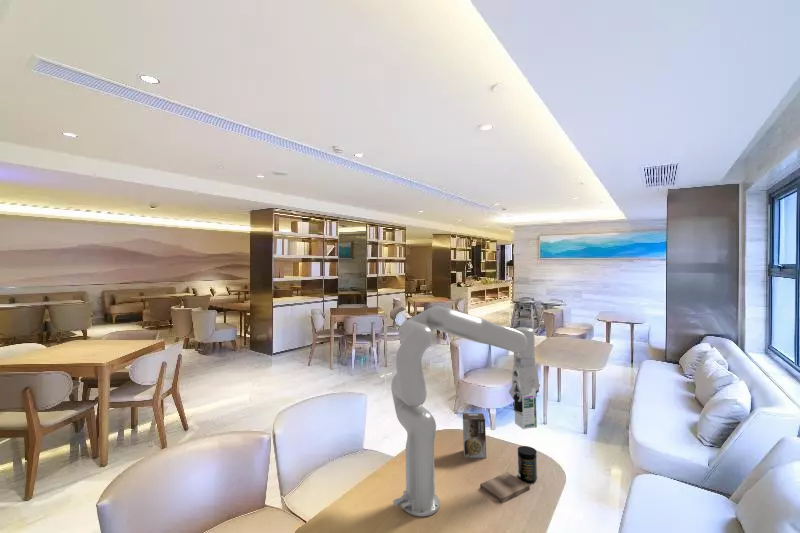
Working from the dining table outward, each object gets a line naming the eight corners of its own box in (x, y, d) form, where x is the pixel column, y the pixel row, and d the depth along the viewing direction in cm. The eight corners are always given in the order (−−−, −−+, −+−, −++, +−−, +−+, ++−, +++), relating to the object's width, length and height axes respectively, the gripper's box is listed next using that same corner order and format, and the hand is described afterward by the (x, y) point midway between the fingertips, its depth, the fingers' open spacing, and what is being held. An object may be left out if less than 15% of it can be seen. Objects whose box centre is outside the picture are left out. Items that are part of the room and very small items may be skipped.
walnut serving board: (501, 503, 120) (501, 498, 120) (480, 488, 128) (480, 483, 128) (529, 489, 127) (529, 485, 127) (507, 476, 136) (507, 472, 136)
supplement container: (540, 483, 131) (540, 454, 131) (523, 484, 130) (522, 455, 130) (531, 472, 138) (531, 445, 138) (514, 474, 137) (514, 446, 137)
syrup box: (523, 429, 131) (522, 389, 131) (514, 423, 137) (513, 384, 137) (537, 427, 132) (536, 388, 133) (527, 421, 138) (526, 383, 138)
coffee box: (484, 450, 155) (483, 413, 156) (486, 458, 149) (485, 419, 149) (463, 450, 156) (462, 412, 156) (464, 457, 150) (463, 418, 150)
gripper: (516, 366, 127) (517, 417, 127) (547, 359, 136) (548, 407, 136) (500, 362, 134) (501, 410, 133) (531, 356, 143) (532, 401, 142)
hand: (525, 408), depth 135 cm, fingers closed on syrup box, 6 cm apart
